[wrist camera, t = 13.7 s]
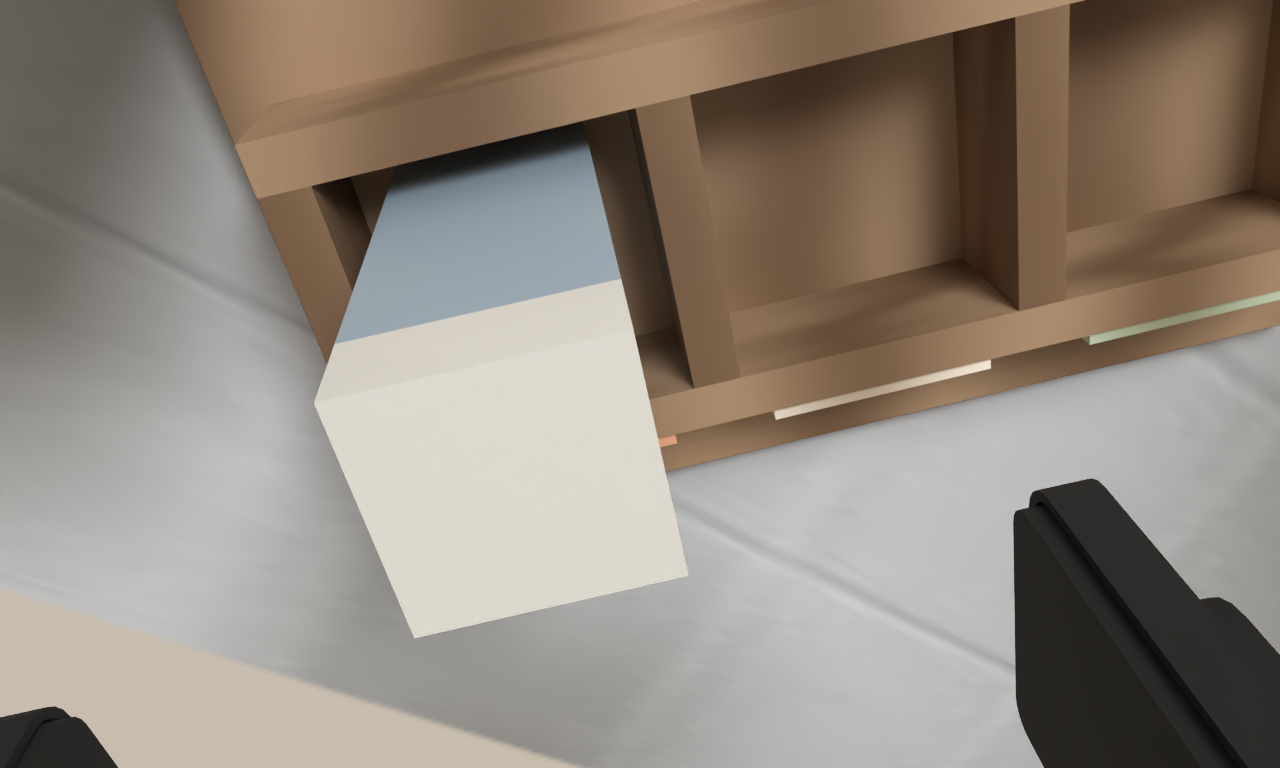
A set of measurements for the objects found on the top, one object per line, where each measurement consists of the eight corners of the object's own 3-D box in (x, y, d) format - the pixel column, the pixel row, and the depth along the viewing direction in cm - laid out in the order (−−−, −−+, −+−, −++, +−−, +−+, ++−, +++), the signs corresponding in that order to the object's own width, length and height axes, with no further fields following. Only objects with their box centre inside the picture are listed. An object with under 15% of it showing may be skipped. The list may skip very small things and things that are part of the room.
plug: (582, 121, 21) (633, 330, 12) (621, 291, 23) (688, 575, 14) (397, 164, 21) (313, 402, 12) (451, 330, 23) (414, 637, 14)
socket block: (1373, -338, 19) (1564, -375, 16) (1284, 301, 26) (1403, 373, 23) (172, -48, 19) (96, -22, 16) (404, 511, 26) (387, 615, 23)
